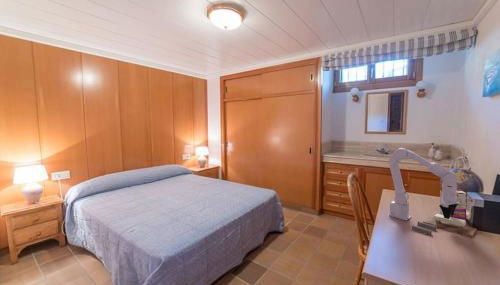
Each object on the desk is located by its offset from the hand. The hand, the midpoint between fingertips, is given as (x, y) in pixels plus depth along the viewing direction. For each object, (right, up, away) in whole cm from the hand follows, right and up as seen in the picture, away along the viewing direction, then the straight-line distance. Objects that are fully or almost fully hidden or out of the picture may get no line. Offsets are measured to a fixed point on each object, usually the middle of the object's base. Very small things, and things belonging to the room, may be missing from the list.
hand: (448, 216), depth 116 cm
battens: (-15, -7, -2) cm, 17 cm away
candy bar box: (+14, -5, +12) cm, 19 cm away
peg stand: (0, -6, 0) cm, 6 cm away
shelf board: (0, -3, 0) cm, 3 cm away
